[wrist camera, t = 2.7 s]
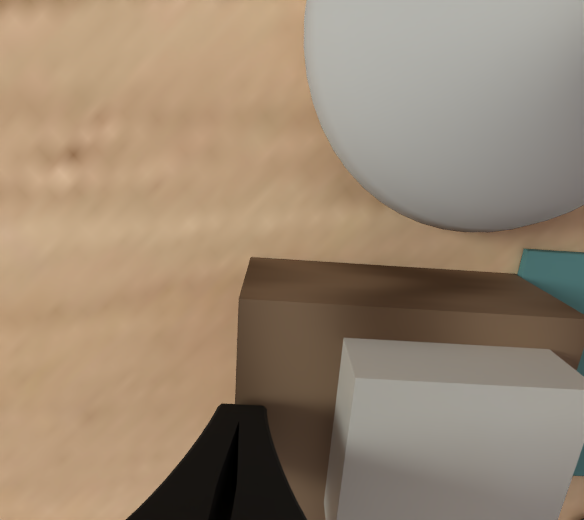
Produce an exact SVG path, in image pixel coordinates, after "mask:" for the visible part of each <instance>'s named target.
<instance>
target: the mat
mask: <svg viewBox="0 0 584 520" xmlns="http://www.w3.org/2000/svg"><path fill="white" fill-rule="evenodd" d="M518 276H519V277H521V278H523V279H525V280H526V281H528V282H530V283H531V284H533V285H535V286H536V287H538V288H540V289H541V290H543V291H545V292H547V293H548V294H550V295H552V296H553V297H555V298H557V299H558V300H560V301H562V302H564V303H565V304H567V305H569V306H570V307H572V308H574V309H575V310H577V311H579V312H581V313H582V314H584V253H582V252H567V251H551V250H536V249H524V250H523V255H522V259H521V263H520V267H519V271H518ZM577 372H579V373H580V374H581V375H582V376H584V349H583V352H582V356H581V359H580V362H579V365H578V368H577ZM573 476H584V444H583V447H582V450H581V453H580V456H579V459H578V462H577V465H576V468H575V471H574V473H573Z"/></svg>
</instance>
